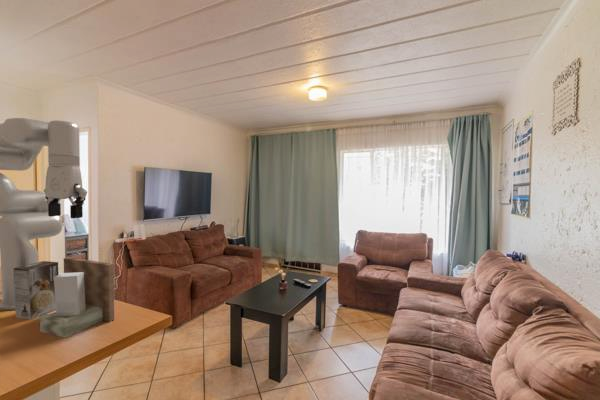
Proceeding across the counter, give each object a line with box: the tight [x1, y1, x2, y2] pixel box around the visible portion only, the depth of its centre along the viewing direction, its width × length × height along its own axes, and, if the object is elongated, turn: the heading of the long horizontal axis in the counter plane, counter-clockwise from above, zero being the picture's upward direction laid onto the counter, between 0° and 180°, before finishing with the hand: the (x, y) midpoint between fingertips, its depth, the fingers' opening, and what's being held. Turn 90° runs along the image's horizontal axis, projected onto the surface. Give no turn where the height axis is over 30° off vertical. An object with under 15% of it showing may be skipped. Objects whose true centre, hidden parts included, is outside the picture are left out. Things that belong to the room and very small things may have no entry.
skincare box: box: [54, 272, 86, 317], centre depth 85 cm, size 6×4×12 cm
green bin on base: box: [39, 256, 115, 338], centre depth 88 cm, size 20×12×18 cm, turn 72°
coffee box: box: [13, 260, 60, 321], centre depth 94 cm, size 9×6×16 cm
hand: (65, 217), depth 90 cm, fingers open, 9 cm apart
